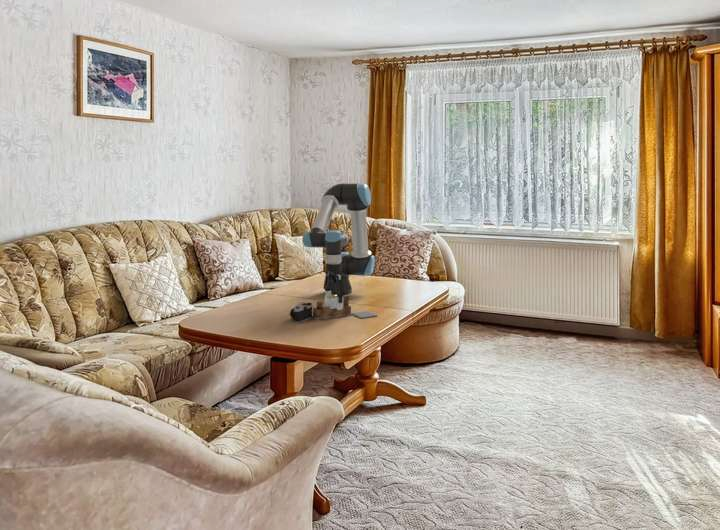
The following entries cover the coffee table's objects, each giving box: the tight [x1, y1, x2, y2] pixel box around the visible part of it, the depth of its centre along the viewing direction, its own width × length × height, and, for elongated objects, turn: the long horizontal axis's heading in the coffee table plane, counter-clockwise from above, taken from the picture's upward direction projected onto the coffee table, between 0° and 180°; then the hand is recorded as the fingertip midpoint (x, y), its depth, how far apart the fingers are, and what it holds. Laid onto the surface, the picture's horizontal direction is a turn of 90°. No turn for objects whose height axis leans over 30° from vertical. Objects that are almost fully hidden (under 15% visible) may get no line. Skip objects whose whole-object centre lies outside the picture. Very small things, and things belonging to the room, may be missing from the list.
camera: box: [289, 302, 313, 323], centre depth 272 cm, size 13×8×9 cm, turn 153°
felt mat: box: [351, 310, 378, 320], centre depth 280 cm, size 10×9×1 cm
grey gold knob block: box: [324, 294, 343, 309], centre depth 278 cm, size 6×7×6 cm
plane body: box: [312, 294, 353, 320], centre depth 278 cm, size 19×5×10 cm, turn 117°
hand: (333, 306), depth 279 cm, fingers open, 12 cm apart
